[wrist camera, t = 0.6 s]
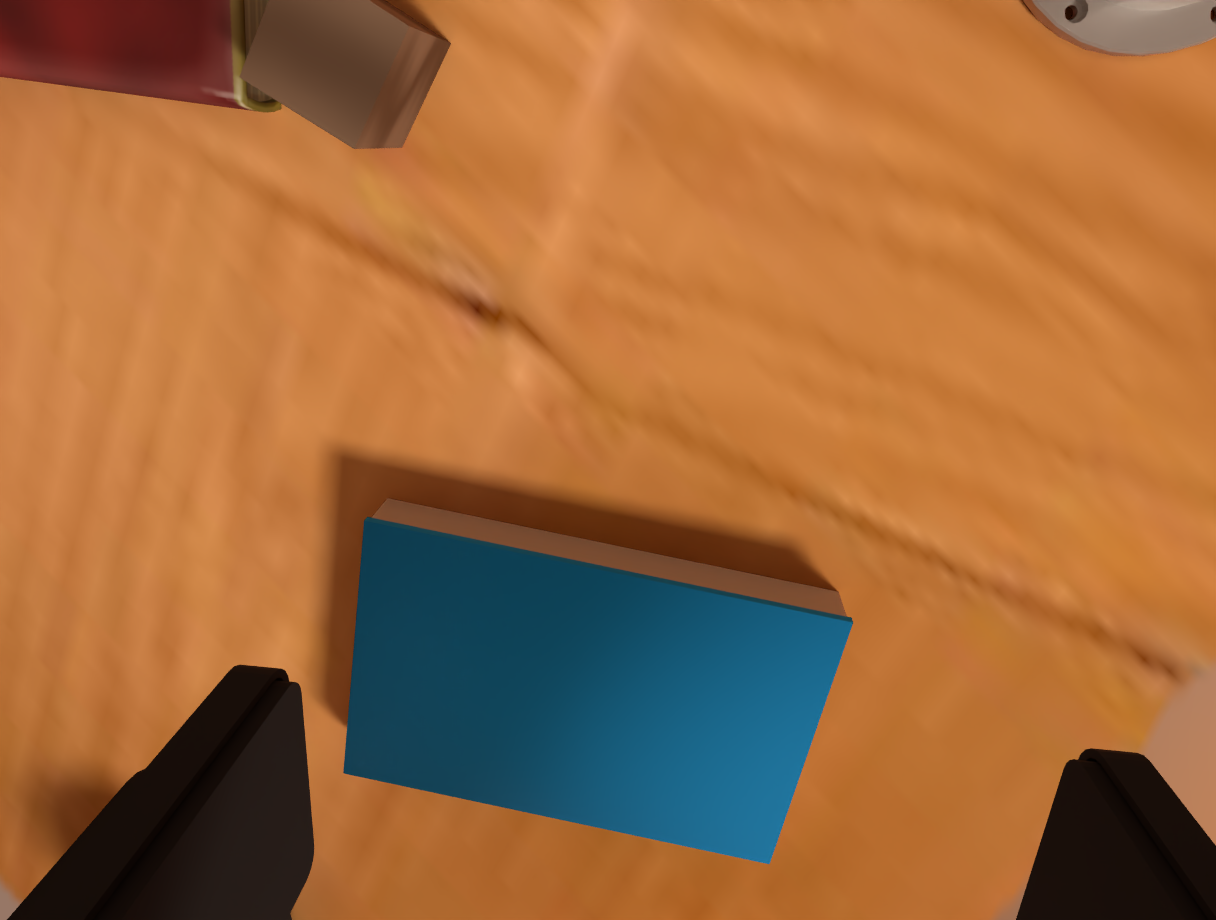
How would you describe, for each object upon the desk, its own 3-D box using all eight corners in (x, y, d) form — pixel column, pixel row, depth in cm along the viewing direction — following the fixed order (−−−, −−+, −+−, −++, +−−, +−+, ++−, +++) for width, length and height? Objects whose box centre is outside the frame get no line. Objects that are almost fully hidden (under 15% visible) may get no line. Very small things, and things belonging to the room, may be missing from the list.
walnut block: (350, -23, 36) (288, -52, 30) (451, 43, 37) (409, 26, 31) (305, 86, 38) (239, 77, 32) (402, 147, 38) (354, 148, 33)
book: (359, 519, 41) (856, 621, 41) (389, 486, 45) (842, 578, 45) (341, 784, 48) (770, 876, 47) (369, 734, 52) (765, 818, 51)
